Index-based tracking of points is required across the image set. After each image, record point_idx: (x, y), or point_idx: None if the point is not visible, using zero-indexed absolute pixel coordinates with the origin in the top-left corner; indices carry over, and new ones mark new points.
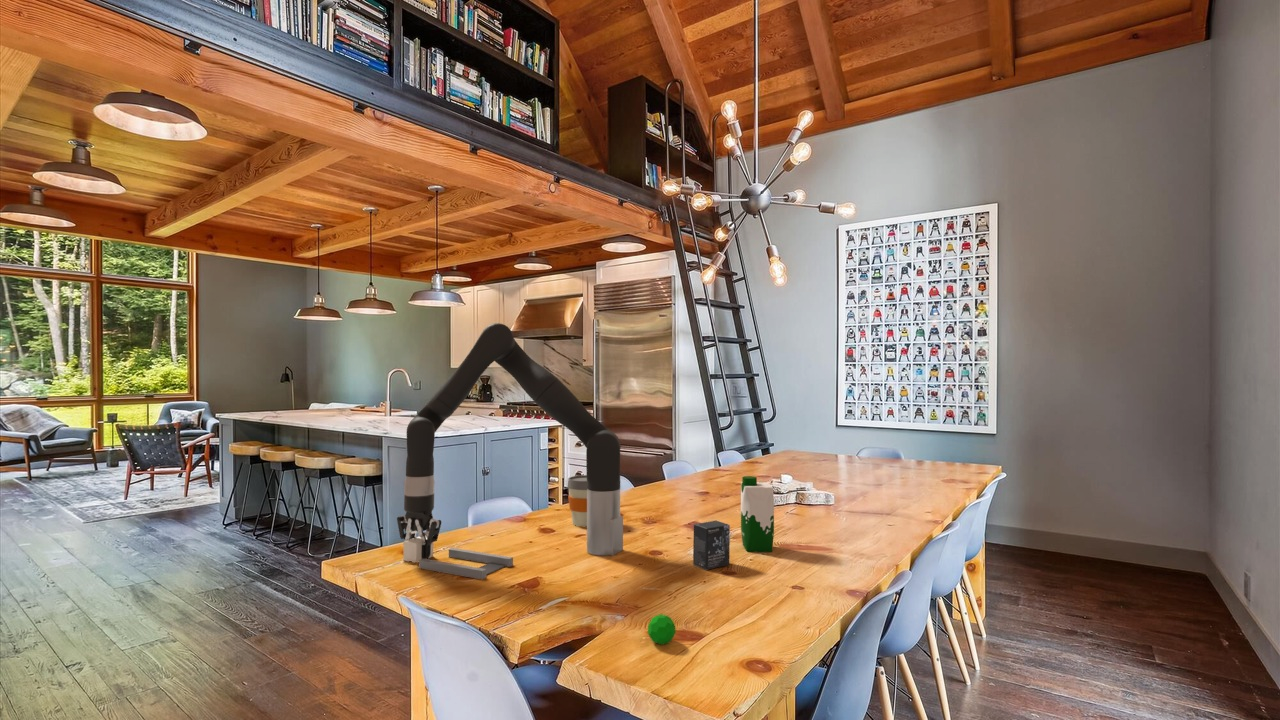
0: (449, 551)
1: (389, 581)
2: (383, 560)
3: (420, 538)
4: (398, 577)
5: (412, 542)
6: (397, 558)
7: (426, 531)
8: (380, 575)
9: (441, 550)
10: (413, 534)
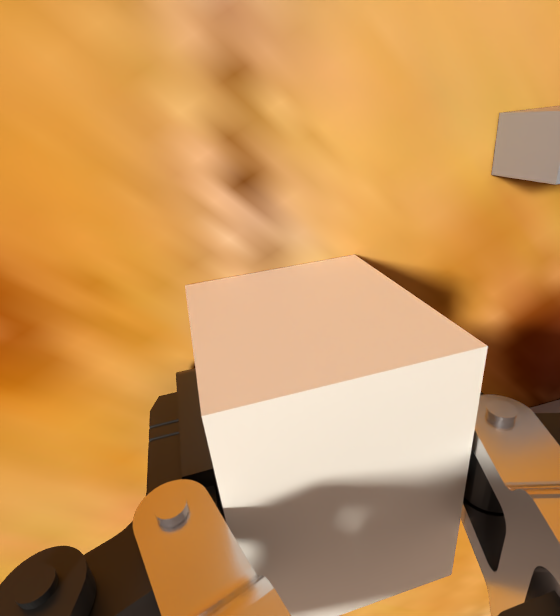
0: (545, 180)
1: (453, 599)
2: (82, 551)
3: (337, 481)
4: (453, 565)
5: (389, 592)
6: (122, 469)
7: (552, 565)
8: (353, 612)
9: (249, 14)
10: (207, 586)
